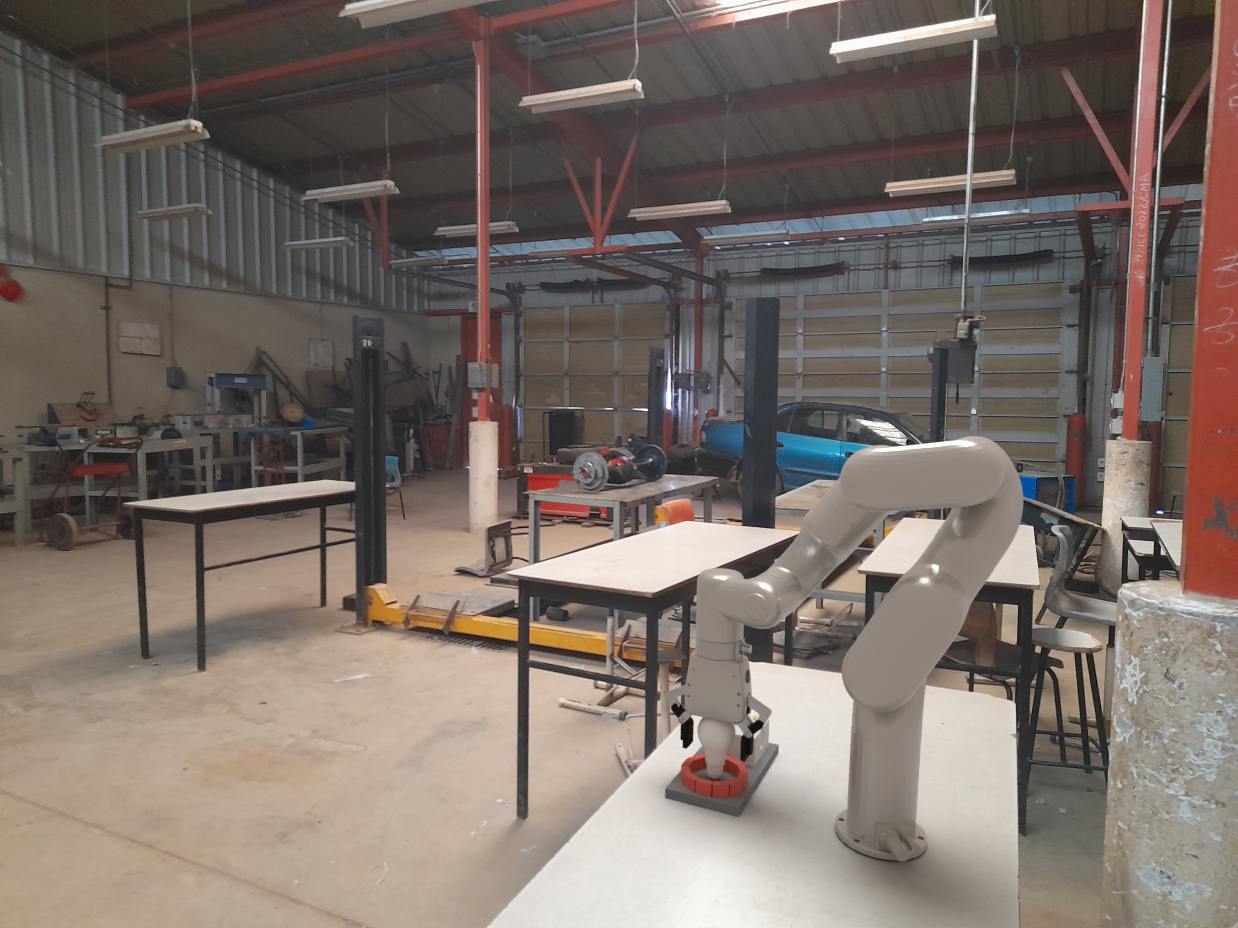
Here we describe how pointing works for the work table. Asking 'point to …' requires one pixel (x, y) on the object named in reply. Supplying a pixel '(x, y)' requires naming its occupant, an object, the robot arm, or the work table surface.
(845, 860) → the work table surface
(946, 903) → the work table surface
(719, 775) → the lightbulb
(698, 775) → the multicoloured piece
